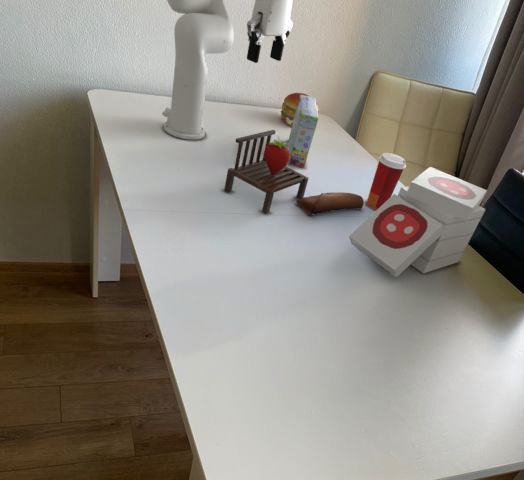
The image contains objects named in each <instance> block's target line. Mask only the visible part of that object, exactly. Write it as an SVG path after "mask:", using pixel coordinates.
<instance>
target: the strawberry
mask: <svg viewBox="0 0 524 480" xmlns="http://www.w3.org/2000/svg"><path fill="white" fill-rule="evenodd" d="M277 138H278V139H280V137H279V135H277ZM273 141H274V142H270V143H269V144H268V145H267V146H266V147H265V146H264V150H263V154H264V158H265V161H266V164H267V166H268V168H269V170H270V173H271V174H272V175H275V174H276V173H278V172H279V171H281V170H282V169H283V168H284V167H285V166H286V167H287V165H288V164H289V160H290V153H289V146H288V144H286V142H281V141H279V140H276V139H273Z"/></svg>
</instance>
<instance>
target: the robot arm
mask: <svg viewBox="0 0 524 480" xmlns="http://www.w3.org/2000/svg"><path fill="white" fill-rule="evenodd" d="M166 1H167V3H168V5H169V7H170V9H171V10H172V11H173V12H175V13H176V14H182V15H180V17H178V19H176V22H175V25H174V33H173V34H174V36H173V37H174V49H175V52H174V53H175V54H174V56H175V57H174V71H173V83H172V94H171V103H170V107H166V108H165V109H164V110H163V111H162V112H161V115H162V116H163V117H165V118H167V119H166V122H164V123H163V130H164V131H165V132H166V133H167V134H169V135H170V136H172V137H176V138H179V139H182V140H188V141H189V140H193V141H194V140H201V139H203V138H205V136H206V130H205V128H204V127H202V122H203V116H204V115H203V114H204V107H205V100H206V93H207V86H208V85H207V84H208V77H209V69H208V64H207V62H206V58H205V55H207V54H211V55H212V54H213V55H215V54H224V53H227V52H228V51H230V50H231V48H232V47H233V44H234V40H235V31H234V26H233V23H232V19H231V16H230V14H229V10H228V7H227V5H226V2H225V0H166ZM293 1H294V0H255V1H254V4H253V9H252V14H251V18H250V19H249V20H248V21H247V22H246V29H247V32H246V33H247V37H248V38H247V40H248V47H247V53H246V59H247V60H248V61H249V62H252V63H255V64H257V63H259V59H260V54H261V48H262V45H261V42H262V41H263V40H264V38H265V37H274V39H273V40H272V44H271V48H270V55H269V57H270V58H271V59H273V60H275V61H277V62H281V61H282V57H283V53H284V49H285V48H284V47H285V44H286V43H287V39H288V37H289V36H290V32H291V30H292V29H293V25H294V22H293V21H292V20H291V15H292V10H293Z"/></svg>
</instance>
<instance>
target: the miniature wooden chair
mask: <svg viewBox="0 0 524 480" xmlns="http://www.w3.org/2000/svg"><path fill="white" fill-rule="evenodd" d="M273 135H276V130H275V129H271V130H266V131H262V132H257V133H253V134H250V135H246V136H245V135H244V136H241V137H237V138H235V143H237V144H238V146H237V150H236V151H237V152H236V157H235V161H234V167H229V168H227V173H226V179H225V183H224V188H223V189H224V190H223V191H224V192H225V193H227V194H229V193H232V191H233V185H234V180H235V178H237V179H240V180H241V181H243V182H245V183H246V184H248V185H250V186H252V187H254V188H255V189H257V190H259V191H261V192H263V193H265V196H264V200H263V205H262V210H261V213H263V214H266V215H268V214H269V213H270V211H271V207H272V203H273V202H272V201H273V199H274V194H275V193H277V192H281V191H283V190H285V189H287V188H290V187H293V186H296V185H298V184H299V186H298V188H297V189H298V190H297V193H296V196H295V198H296V199H297V200H298V199H301V198H305V197H304V196H305V193H306V189H307V185H308V183H309V182H308V181H309V179H310V177H309V176H307V175H304V174H302V173H300V172H298V171H296V170H295V169H292V168H290V167H288V166H287V165H286V166H285V167H284V168H283V169H282V170H281V171H279V172H278V173H276V174H275V175H272V174H271V173H270V170H269V168H268V166H267V164H266V161H265V158H264V153H263V155H262V152H263V147H264V148H265V147H266V146H267V145H268V144H269V143H271V140H272V139H271V138H272V136H273ZM265 137H266V141H265ZM258 140H259V143H258ZM251 141H252V145H251ZM264 142H265V145H264ZM244 143H245V146H244ZM257 145H258V148H257ZM243 146H244V152H243ZM250 146H251V149H250ZM256 148H257V153H256ZM249 150H251V151H250V155H249ZM242 152H243V156H242ZM255 154H256V155H255ZM241 156H242V162H241V161H240V160H241ZM255 156H256V158H255ZM248 157H249V160H248ZM261 157H262V159H261ZM254 158H255V159H254ZM254 160H255V161H254ZM247 161H248V163H247ZM240 162H241V165H240Z"/></svg>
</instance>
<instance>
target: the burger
mask: <svg viewBox="0 0 524 480" xmlns="http://www.w3.org/2000/svg"><path fill="white" fill-rule="evenodd" d="M300 95H305V96H309V97H311V96H310V95H308V94H306V93H303V92H292V93H290V94H287V96H286V97H285V98H284V100H283V102H282V104H281V111H280V116H281V120H282V121H283V122H284V123H286V124H287V125H290V126H292V125H293V121H294V117H295V113H296V109H297V105H298V101H299V97H300ZM316 106H317V113H318V114H319V112H318V111H319V105H318V102H317V101H316Z"/></svg>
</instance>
